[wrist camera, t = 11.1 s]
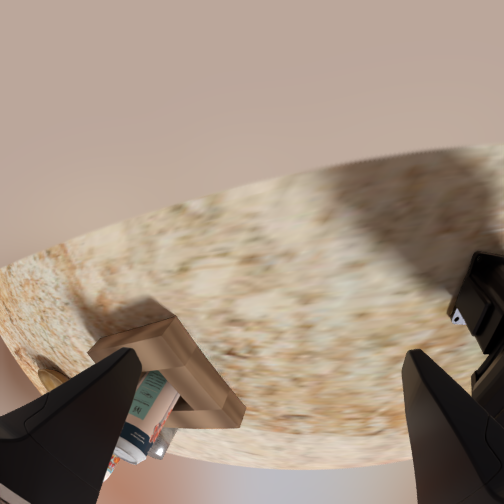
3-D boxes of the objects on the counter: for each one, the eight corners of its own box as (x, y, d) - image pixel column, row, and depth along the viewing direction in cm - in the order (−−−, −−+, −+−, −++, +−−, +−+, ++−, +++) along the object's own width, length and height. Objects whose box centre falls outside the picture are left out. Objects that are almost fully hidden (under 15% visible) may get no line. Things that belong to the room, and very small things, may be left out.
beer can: (166, 388, 32) (122, 462, 21) (143, 362, 31) (90, 435, 20) (195, 386, 30) (151, 470, 19) (171, 358, 29) (117, 443, 18)
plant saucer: (60, 359, 39) (51, 368, 37) (111, 416, 43) (104, 425, 41) (37, 363, 45) (30, 370, 42) (79, 411, 49) (73, 418, 46)
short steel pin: (175, 421, 35) (158, 451, 30) (179, 433, 37) (164, 462, 32) (151, 412, 36) (134, 441, 31) (157, 425, 38) (141, 452, 33)
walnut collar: (176, 316, 26) (161, 335, 23) (246, 407, 30) (239, 428, 27) (100, 338, 31) (86, 352, 29) (163, 411, 35) (154, 426, 32)
